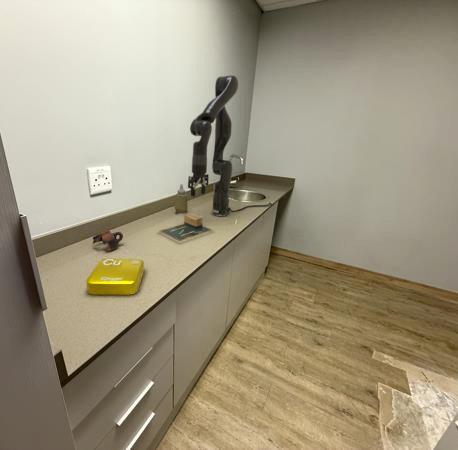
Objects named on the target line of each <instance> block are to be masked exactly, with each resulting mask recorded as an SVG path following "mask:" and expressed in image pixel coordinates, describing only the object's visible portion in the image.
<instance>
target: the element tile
mask: <svg viewBox="0 0 458 450" xmlns="http://www.w3.org/2000/svg"><path fill="white" fill-rule="evenodd" d="M144 274H145V262H144V260H143V259H139V258H103V259H101V260H100V261H98V263H97V265H96V266H95V267H94V269H93V270H92V272H91V273H90V274H89V276H88V277H87V279H86V288H87V289H86V290H87V293H88V294H89V295H95V296H96V295H97V296H100V295H101V296H131V295H135V294H136V293H137V292H138V291H139V288H140V285H141V282H142V280H143V277H144Z"/></svg>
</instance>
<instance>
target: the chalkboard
mask: <svg viewBox="0 0 458 450" xmlns="http://www.w3.org/2000/svg"><path fill="white" fill-rule="evenodd" d="M211 231H213V228H210V227H207V226H205V225H203V226H202V227H200V228H197V229H195V228H193V227H190V226H188V225H185V224H184V223H182V224H178V225H174V226H171V227H167V228H164V229H159V232H161V233H162V234H164V235H165V236H168V239H170V240H171V241H173V239H174V240H176V241H178V242H182V241H184V240H188V239H190V238H194V237H196V236H200V235H203V234H205V233H208V232H211ZM169 237H170V238H169ZM171 238H172V239H171Z"/></svg>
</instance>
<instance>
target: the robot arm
mask: <svg viewBox="0 0 458 450" xmlns="http://www.w3.org/2000/svg"><path fill="white" fill-rule="evenodd" d="M214 85H215V86H214V94H215V95H214V98H213V99H211V100H210V101H209V102H208V103H207V104H206V106H205V107H204V109H203V110H202V111H201V113H199V114H198V115H196V117H195V118H194V119H193V120H192V121H191V123H190V126H189V132H190V134H191V135H192V136H193V137H194V136H195V137H200V138H199V140H197V141H193V143H192V156H191V173H192V176H191V175H189V176H188V178H187V179H188V180H187V181H188V182H187V189H190V196H191V197H196V188H197V187H198V186H199V185H200V194H202V195H205V194H206V187H207V186H209V173H207V172H208V171H207V167H208V145H209V142H210V138H211V135H212V133H213V127H212V124H214V144H213V145H214V147H213V154H212V155H213V156H212V162H211V163H212V164H211V170H212V173H213V174H214V175H217V176H220V177H219V180H215V181H214V182H213V194H212V195H213V197H212V210H211V211H212V212H211V214H212V215H213V216H214V217H215V216H216V217H226V216H227V215H228V214H229V213H230V212H231V213H237V212H239V211H243V210H244V209H246V208H252V207H253V208H254V207H268V206H272V203H271V202H268V204H254V205H253V204H252V205H247V206H243V207H242V208H239V209H236V210H232V209H231V207H229V204H230V199H229V194H230V185H231V182H232V177H233V163H232V161H231V160H227V159H224V153H225V149H226V147H227V145H228V143H229V141H230V139H231V138H232V128H233V127H232V126H233V122H232V119H231V117H230V115H229V113H228V110H227V107H226V105H227V104H228V103H229V102H230V101H231V100H232V98H233V97H234V96H235V95H236V94H237V93H238V89H239V80H238V77H236V75H234V74H233V75H231V74H229V75H222V76H220V75H219V76H218V77H216V80H215V84H214Z"/></svg>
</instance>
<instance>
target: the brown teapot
mask: <svg viewBox="0 0 458 450" xmlns="http://www.w3.org/2000/svg"><path fill="white" fill-rule="evenodd" d="M118 236H119V237H118ZM117 237H118V238H117ZM92 239H93V241H92V244H93V245H95V244H96V243H100V242H102V243H103V244H107V245H106V246H105V247H103V249H104V250H105V252H106V253H109V252H111V251H113V250H116V249H118V245H119V243H120V242H122V240H123V239H124V234H123V233H122V232H121V231H116V232H111V230H108V229H107V230H105V231H103V232H101V233H99V234H96V235H94V236H92Z"/></svg>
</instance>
